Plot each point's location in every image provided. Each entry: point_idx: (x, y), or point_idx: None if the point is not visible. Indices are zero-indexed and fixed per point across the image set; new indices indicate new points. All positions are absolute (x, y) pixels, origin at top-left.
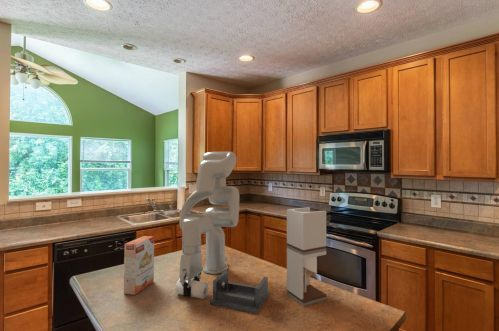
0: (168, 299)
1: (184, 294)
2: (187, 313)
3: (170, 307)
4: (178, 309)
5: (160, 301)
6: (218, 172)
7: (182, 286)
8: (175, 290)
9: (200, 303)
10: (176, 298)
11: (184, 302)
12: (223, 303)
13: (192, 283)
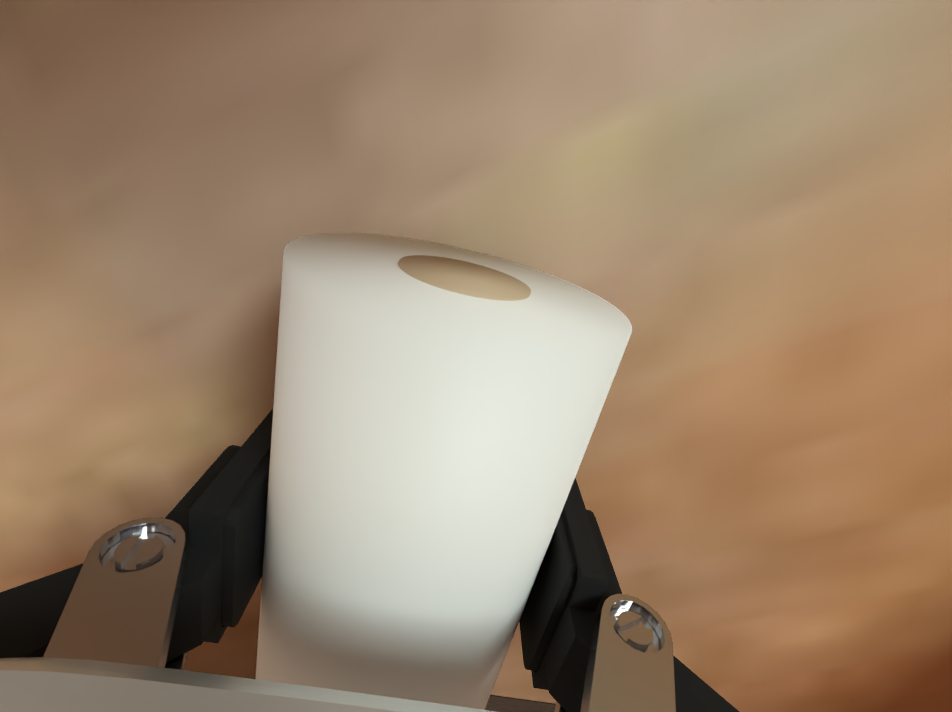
0: (201, 144)
1: (233, 449)
2: (3, 535)
3: (2, 294)
4: (19, 417)
5: (75, 10)
6: None
7: (274, 440)
8: (314, 236)
9: (255, 589)
10: (278, 272)
11: (210, 426)
12: None
13: (303, 670)
